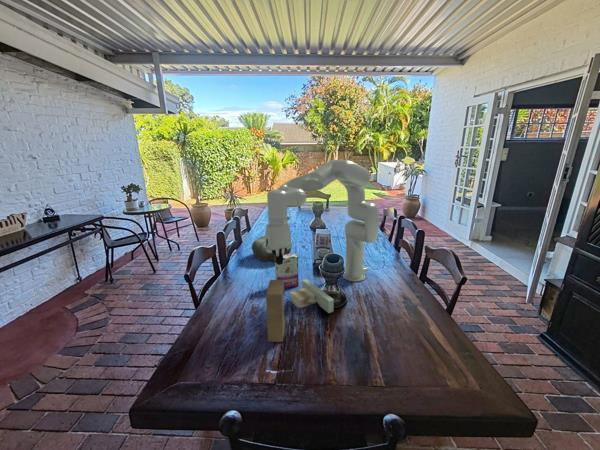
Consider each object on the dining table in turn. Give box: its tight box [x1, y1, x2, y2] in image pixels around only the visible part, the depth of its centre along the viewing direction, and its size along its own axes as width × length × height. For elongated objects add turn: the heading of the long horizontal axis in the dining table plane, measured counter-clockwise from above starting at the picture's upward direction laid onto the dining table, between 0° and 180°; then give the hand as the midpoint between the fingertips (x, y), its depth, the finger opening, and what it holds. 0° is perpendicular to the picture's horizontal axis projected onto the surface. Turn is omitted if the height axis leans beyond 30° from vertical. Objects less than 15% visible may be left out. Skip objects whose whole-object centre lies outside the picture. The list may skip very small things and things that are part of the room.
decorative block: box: [265, 279, 286, 343], centre depth 105 cm, size 11×6×20 cm, turn 178°
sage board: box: [301, 278, 335, 314], centre depth 129 cm, size 2×22×6 cm, turn 31°
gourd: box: [251, 235, 293, 262], centre depth 176 cm, size 25×25×17 cm
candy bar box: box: [274, 253, 299, 289], centre depth 141 cm, size 11×5×16 cm, turn 105°
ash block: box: [289, 287, 317, 309], centre depth 128 cm, size 9×8×4 cm
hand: (279, 263), depth 116 cm, fingers closed
